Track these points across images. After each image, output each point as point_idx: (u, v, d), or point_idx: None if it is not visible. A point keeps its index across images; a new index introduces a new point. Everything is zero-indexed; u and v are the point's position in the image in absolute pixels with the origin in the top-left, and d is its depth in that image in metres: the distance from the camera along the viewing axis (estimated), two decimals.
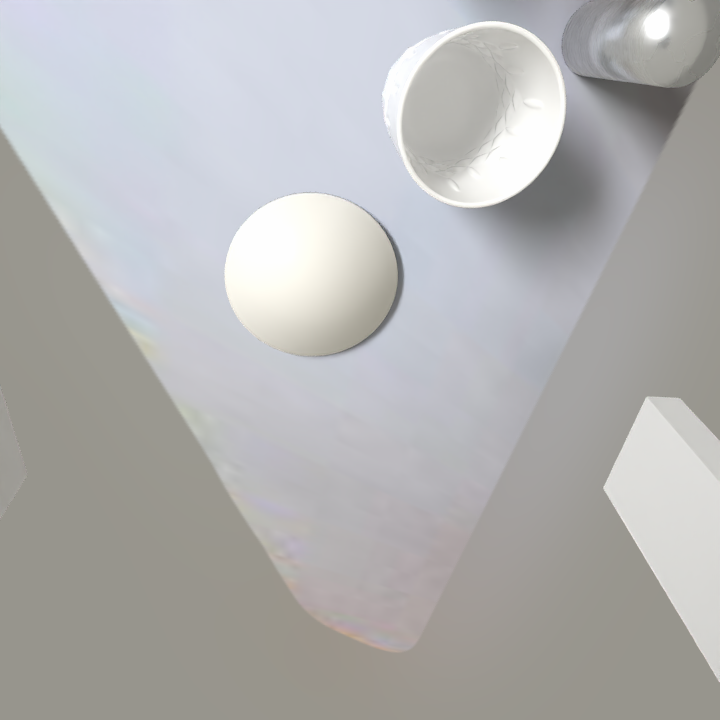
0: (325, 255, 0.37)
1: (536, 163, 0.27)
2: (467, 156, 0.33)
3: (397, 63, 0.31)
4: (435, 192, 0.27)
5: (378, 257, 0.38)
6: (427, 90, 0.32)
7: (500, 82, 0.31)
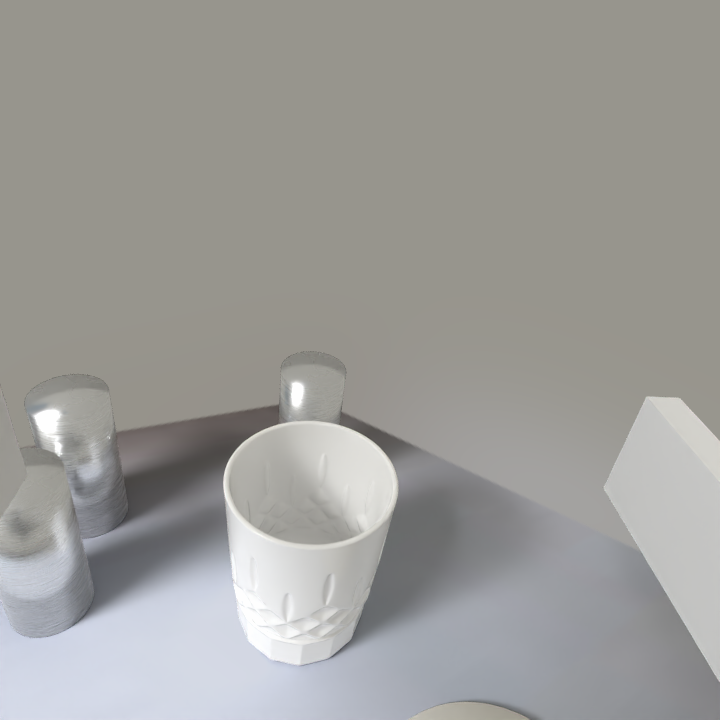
0: None
1: (370, 452, 0.27)
2: None
3: (244, 620, 0.28)
4: (367, 530, 0.23)
5: None
6: None
7: (302, 521, 0.31)
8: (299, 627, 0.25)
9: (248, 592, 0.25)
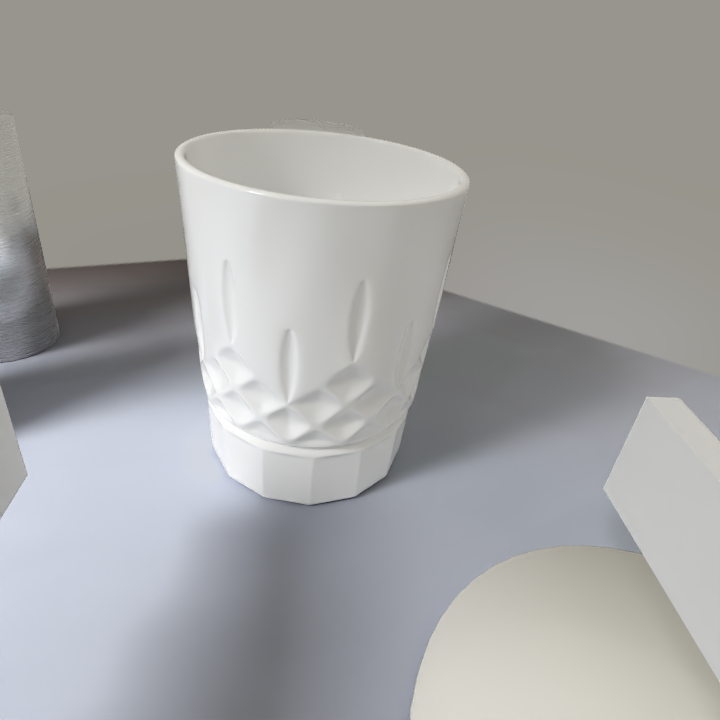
0: (598, 707, 0.13)
1: (412, 165, 0.17)
2: None
3: (221, 437, 0.18)
4: None
5: (593, 578, 0.16)
6: None
7: None
8: (309, 415, 0.15)
9: (223, 359, 0.15)
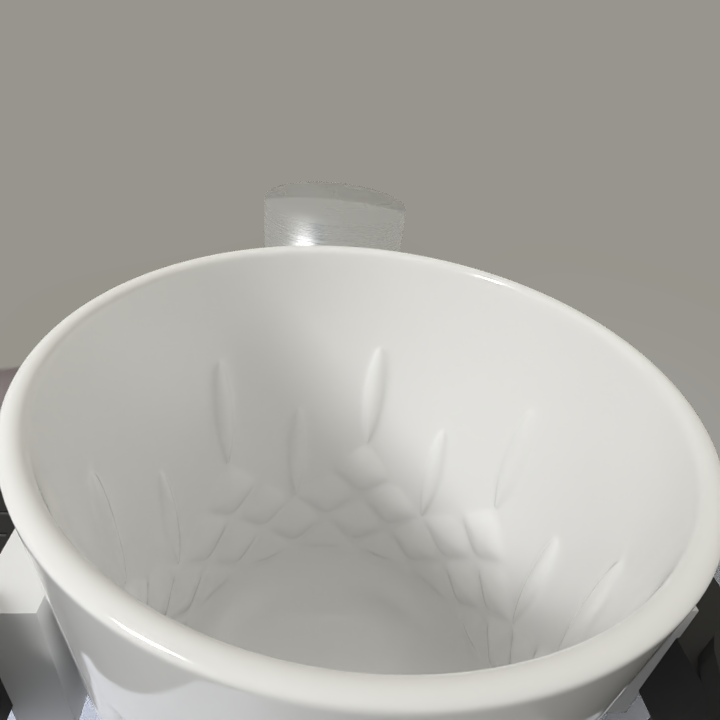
0: None
1: (524, 320, 0.09)
2: (481, 641, 0.11)
3: None
4: (674, 571, 0.05)
5: None
6: None
7: (320, 531, 0.13)
8: None
9: None
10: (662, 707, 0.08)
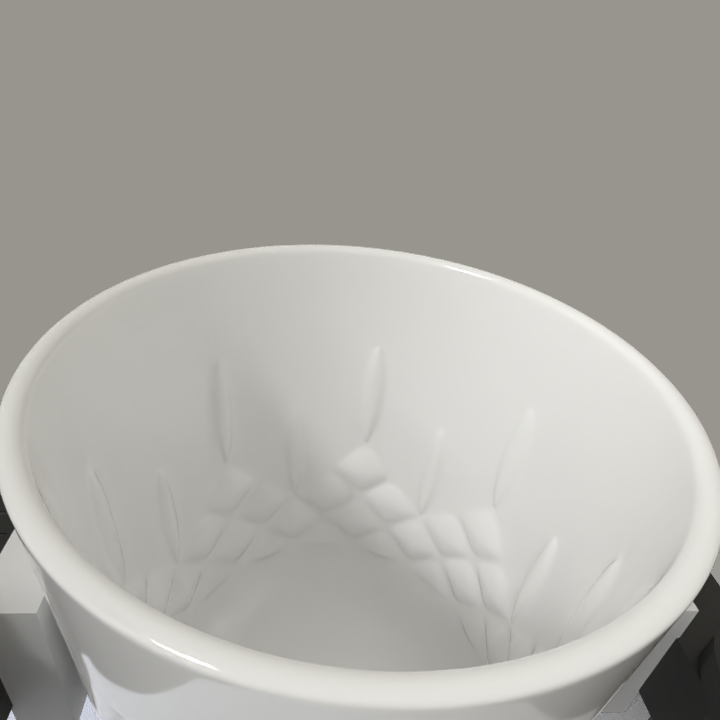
0: None
1: (523, 320, 0.09)
2: (480, 640, 0.11)
3: None
4: (670, 569, 0.05)
5: None
6: None
7: (319, 530, 0.13)
8: None
9: None
10: (663, 707, 0.08)
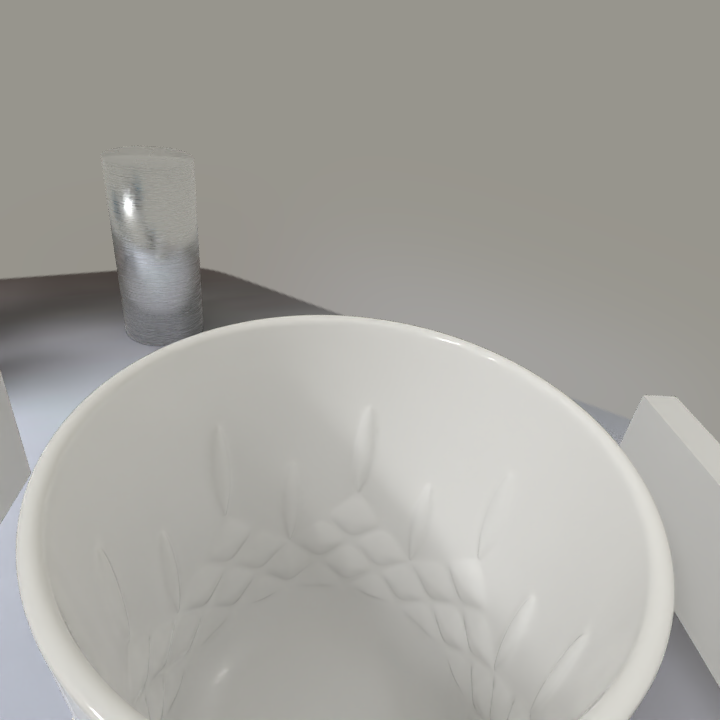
0: None
1: (504, 390, 0.10)
2: (466, 683, 0.12)
3: None
4: (620, 674, 0.05)
5: None
6: None
7: (314, 572, 0.14)
8: None
9: None
10: None
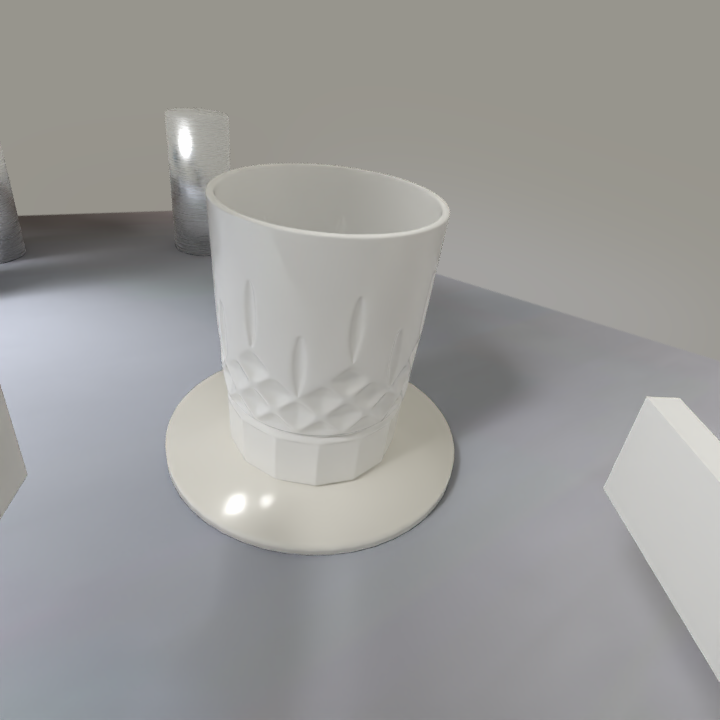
0: None
1: (404, 195, 0.20)
2: None
3: (239, 427, 0.21)
4: None
5: None
6: None
7: None
8: (315, 408, 0.18)
9: (243, 360, 0.18)
10: None
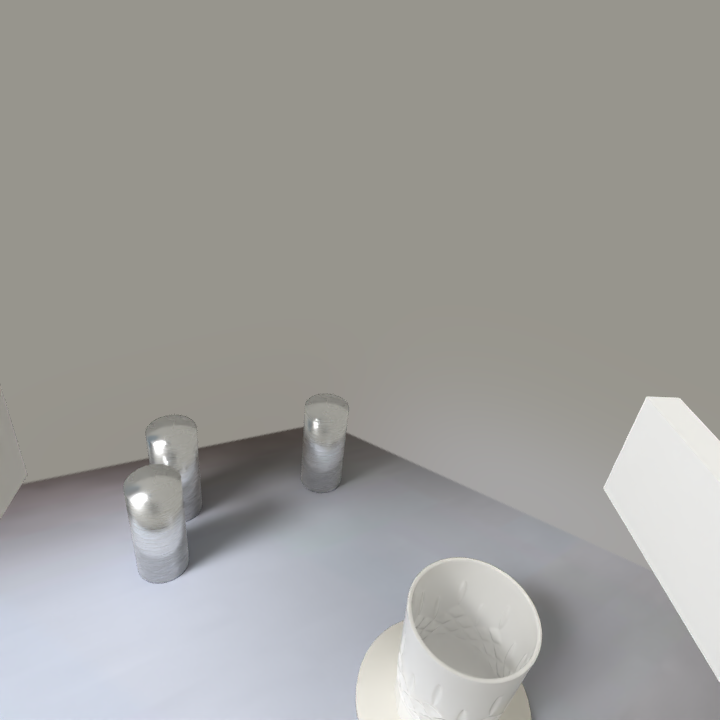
0: None
1: (507, 584, 0.35)
2: (494, 667, 0.37)
3: (409, 719, 0.35)
4: (527, 662, 0.30)
5: None
6: None
7: (439, 629, 0.38)
8: None
9: (424, 704, 0.32)
10: None
